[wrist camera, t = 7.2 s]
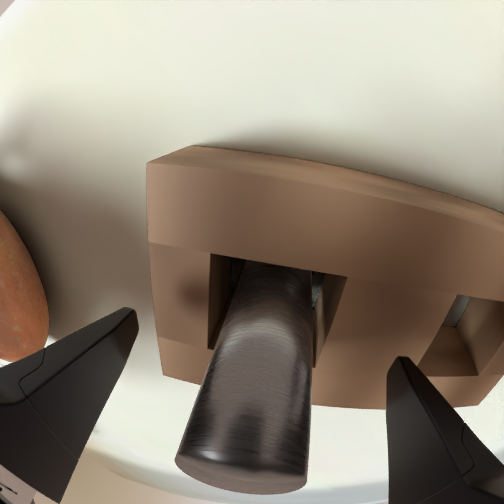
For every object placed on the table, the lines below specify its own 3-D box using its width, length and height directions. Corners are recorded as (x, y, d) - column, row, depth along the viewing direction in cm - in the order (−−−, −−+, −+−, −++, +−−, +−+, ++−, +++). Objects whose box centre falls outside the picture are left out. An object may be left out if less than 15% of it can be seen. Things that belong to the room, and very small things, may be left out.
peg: (317, 240, 13) (324, 464, 4) (304, 294, 15) (290, 498, 6) (251, 228, 13) (167, 436, 5) (244, 284, 15) (180, 478, 6)
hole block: (528, 223, 10) (571, 258, 7) (460, 360, 15) (477, 405, 12) (190, 145, 12) (146, 163, 9) (187, 324, 17) (163, 374, 13)
